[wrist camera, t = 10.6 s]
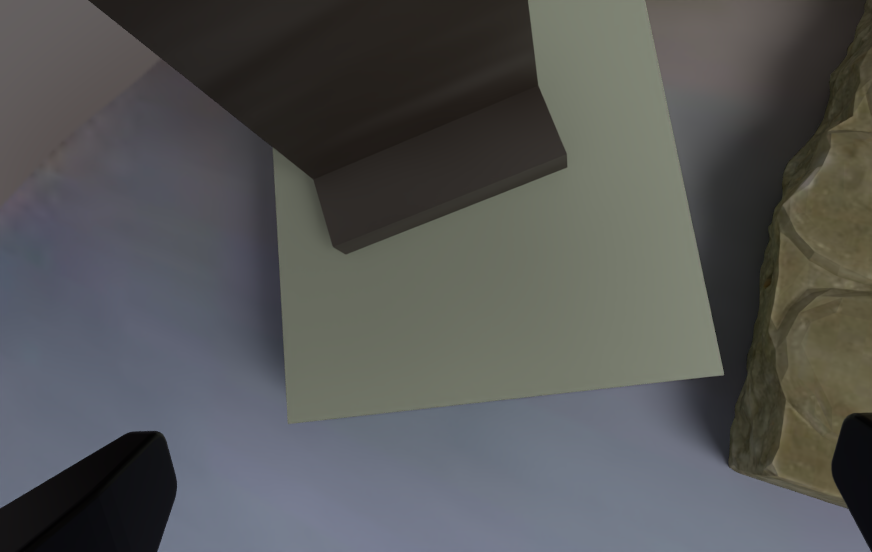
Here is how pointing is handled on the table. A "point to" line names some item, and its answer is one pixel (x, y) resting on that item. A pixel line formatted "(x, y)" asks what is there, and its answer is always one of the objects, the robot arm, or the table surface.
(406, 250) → the picture ledge
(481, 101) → the dark photo frame
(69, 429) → the table surface
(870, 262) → the decorative tile
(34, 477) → the table surface
